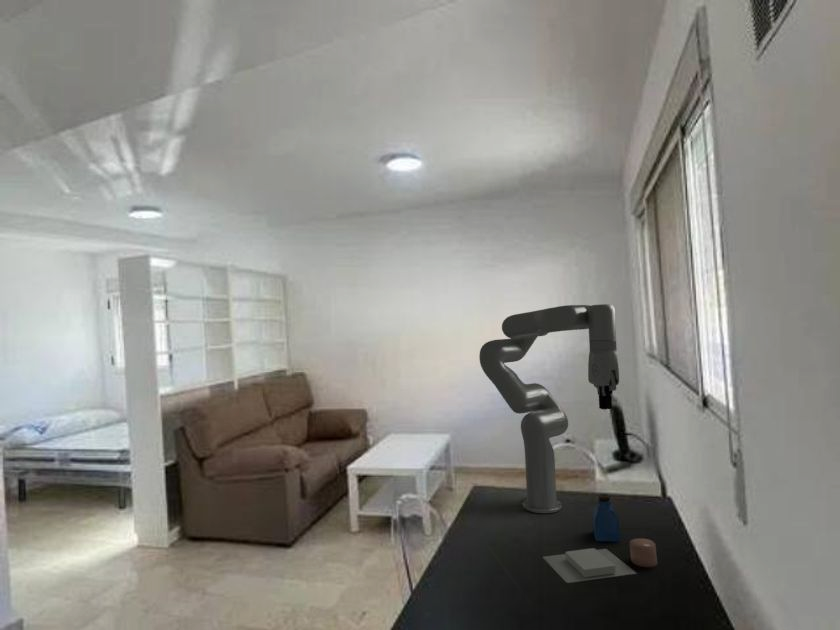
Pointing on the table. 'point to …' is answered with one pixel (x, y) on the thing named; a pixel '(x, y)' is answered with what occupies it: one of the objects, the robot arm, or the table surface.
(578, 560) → the tile
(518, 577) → the table surface
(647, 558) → the brown rounded cylinder
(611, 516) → the perfume bottle
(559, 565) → the mat
